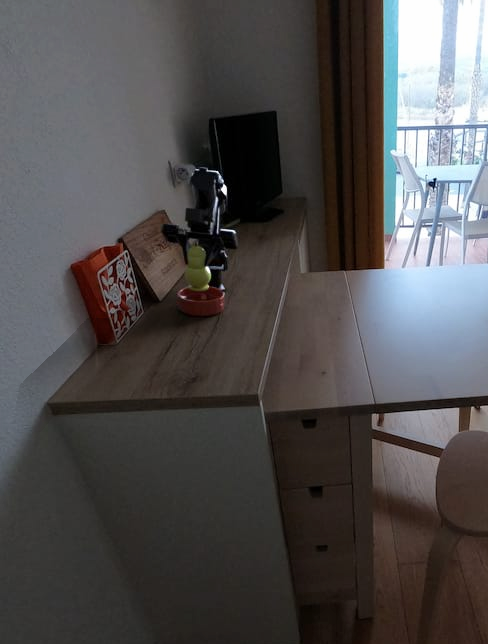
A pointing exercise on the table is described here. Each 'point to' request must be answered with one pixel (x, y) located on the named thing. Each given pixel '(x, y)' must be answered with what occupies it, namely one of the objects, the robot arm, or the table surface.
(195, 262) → the pear
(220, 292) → the bowl
